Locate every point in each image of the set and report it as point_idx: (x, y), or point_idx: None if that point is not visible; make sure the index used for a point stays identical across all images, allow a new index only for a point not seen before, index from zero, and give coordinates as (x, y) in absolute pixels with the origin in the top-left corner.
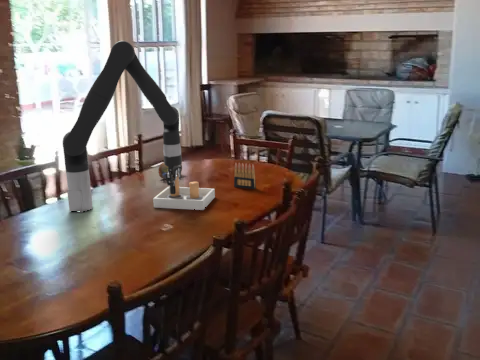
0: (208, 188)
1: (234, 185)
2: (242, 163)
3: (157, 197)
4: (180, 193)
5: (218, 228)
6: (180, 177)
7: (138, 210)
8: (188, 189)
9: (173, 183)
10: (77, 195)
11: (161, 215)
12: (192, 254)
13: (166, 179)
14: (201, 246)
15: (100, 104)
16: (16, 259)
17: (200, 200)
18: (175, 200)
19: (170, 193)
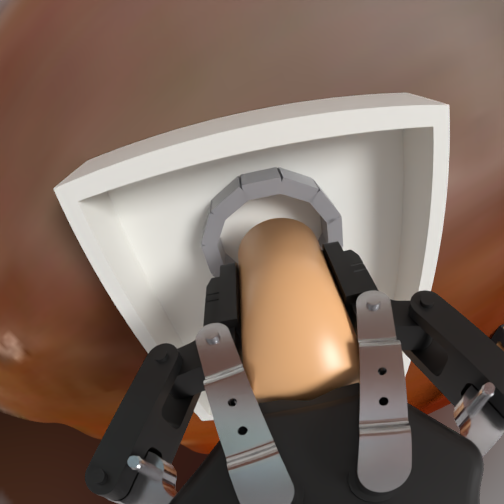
0: (408, 364)
1: (501, 330)
2: None
3: (106, 189)
4: (405, 202)
5: (105, 430)
6: (424, 348)
7: (6, 116)
8: (415, 276)
9: (193, 395)
10: None
11: (37, 283)
12: (3, 410)
13: (113, 418)
14: (27, 417)
15: None
16: None
17: (202, 415)
18: (139, 333)
19: (251, 238)
